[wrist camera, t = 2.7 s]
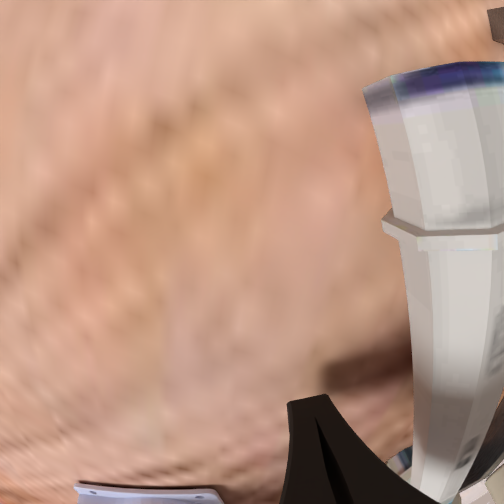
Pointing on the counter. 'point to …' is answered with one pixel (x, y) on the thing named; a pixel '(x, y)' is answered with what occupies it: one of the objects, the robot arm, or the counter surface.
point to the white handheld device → (447, 256)
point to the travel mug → (496, 485)
